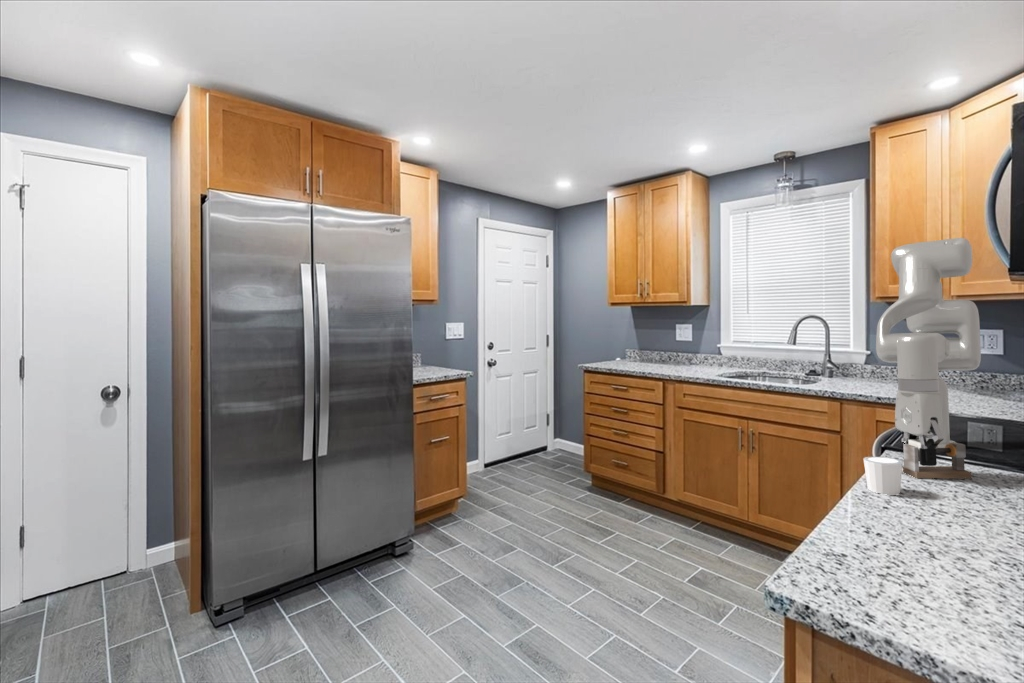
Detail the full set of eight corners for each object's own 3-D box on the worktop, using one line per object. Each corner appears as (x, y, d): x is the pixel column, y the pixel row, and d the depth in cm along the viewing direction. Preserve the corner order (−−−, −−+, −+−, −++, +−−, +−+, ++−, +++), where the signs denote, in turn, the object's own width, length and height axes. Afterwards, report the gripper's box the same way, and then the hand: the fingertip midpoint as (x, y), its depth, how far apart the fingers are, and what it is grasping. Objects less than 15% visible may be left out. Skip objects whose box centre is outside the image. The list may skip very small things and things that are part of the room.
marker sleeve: (908, 457, 120) (908, 439, 120) (919, 457, 120) (919, 439, 120) (921, 462, 116) (920, 443, 116) (932, 462, 116) (931, 443, 116)
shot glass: (871, 495, 106) (870, 463, 106) (859, 486, 113) (858, 455, 112) (909, 497, 104) (908, 464, 104) (895, 487, 110) (894, 456, 110)
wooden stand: (903, 472, 121) (901, 442, 121) (955, 472, 119) (954, 441, 119) (916, 478, 116) (915, 446, 116) (971, 478, 114) (970, 446, 114)
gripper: (879, 383, 127) (881, 454, 127) (925, 390, 110) (928, 472, 110) (911, 382, 126) (914, 453, 126) (962, 389, 109) (965, 472, 109)
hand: (920, 461), depth 118 cm, fingers closed on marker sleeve, 4 cm apart
